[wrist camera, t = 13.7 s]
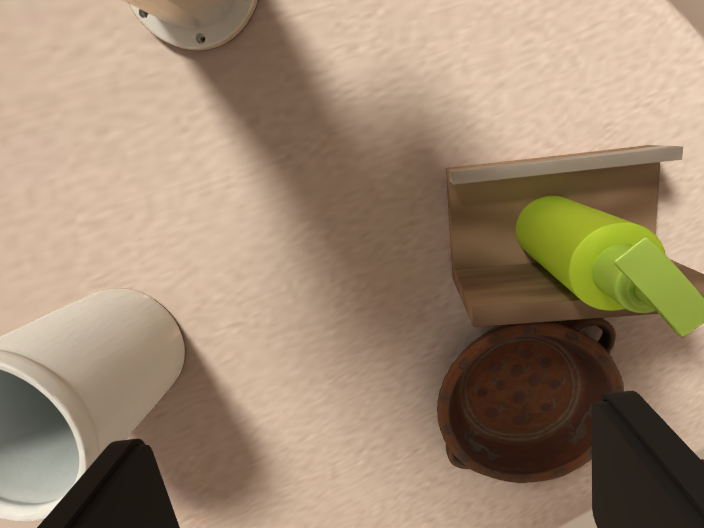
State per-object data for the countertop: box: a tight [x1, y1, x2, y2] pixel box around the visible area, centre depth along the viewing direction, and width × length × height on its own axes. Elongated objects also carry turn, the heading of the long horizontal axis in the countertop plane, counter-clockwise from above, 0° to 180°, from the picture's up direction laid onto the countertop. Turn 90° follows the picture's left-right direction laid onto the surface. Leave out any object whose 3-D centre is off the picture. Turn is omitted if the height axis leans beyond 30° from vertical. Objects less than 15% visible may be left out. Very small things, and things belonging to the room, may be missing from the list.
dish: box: [437, 318, 624, 483], centre depth 45 cm, size 18×22×5 cm
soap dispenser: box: [516, 196, 704, 337], centre depth 31 cm, size 6×7×20 cm
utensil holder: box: [0, 288, 185, 521], centre depth 42 cm, size 15×15×18 cm
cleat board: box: [446, 145, 704, 327], centre depth 37 cm, size 11×18×12 cm, turn 97°
